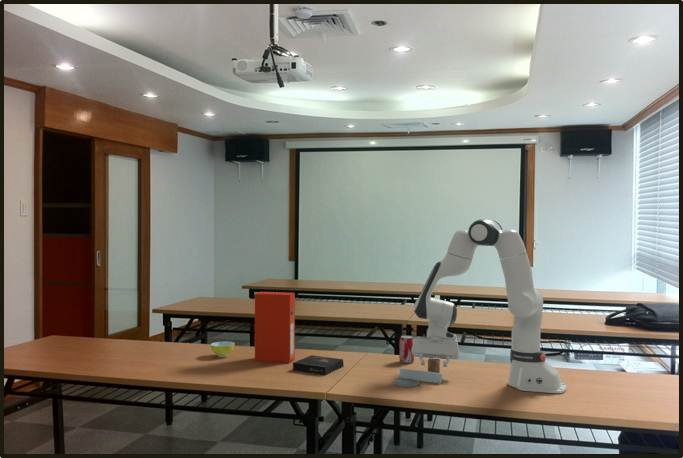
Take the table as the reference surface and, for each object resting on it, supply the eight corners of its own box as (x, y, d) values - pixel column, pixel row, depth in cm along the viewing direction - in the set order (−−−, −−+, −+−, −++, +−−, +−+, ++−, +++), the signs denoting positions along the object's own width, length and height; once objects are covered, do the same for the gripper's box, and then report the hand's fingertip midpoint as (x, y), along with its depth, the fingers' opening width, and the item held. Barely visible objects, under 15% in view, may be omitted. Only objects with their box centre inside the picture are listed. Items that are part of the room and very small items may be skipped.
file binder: (289, 363, 263) (289, 294, 263) (254, 361, 267) (254, 293, 266) (294, 359, 271) (294, 292, 270) (260, 357, 274) (260, 291, 274)
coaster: (423, 381, 233) (423, 380, 233) (414, 388, 223) (414, 387, 223) (398, 378, 238) (398, 377, 238) (388, 384, 228) (388, 384, 228)
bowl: (210, 359, 269) (210, 346, 269) (211, 354, 281) (211, 341, 281) (234, 358, 272) (234, 345, 272) (234, 353, 283) (234, 340, 283)
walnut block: (439, 377, 239) (439, 359, 239) (438, 380, 235) (438, 361, 235) (429, 377, 240) (429, 358, 240) (427, 379, 237) (427, 360, 237)
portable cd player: (343, 367, 257) (343, 358, 257) (325, 376, 242) (325, 367, 242) (312, 363, 265) (312, 354, 265) (292, 371, 250) (292, 362, 250)
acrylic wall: (442, 382, 232) (442, 372, 232) (440, 384, 230) (440, 374, 230) (401, 377, 240) (401, 367, 240) (399, 378, 238) (399, 369, 238)
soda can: (413, 364, 262) (413, 338, 262) (398, 363, 264) (398, 337, 264) (414, 360, 269) (414, 335, 269) (399, 359, 271) (400, 334, 271)
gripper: (412, 332, 248) (408, 359, 239) (459, 335, 242) (457, 363, 233) (413, 340, 252) (410, 367, 243) (460, 343, 247) (458, 371, 237)
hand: (433, 365), depth 238 cm, fingers open, 8 cm apart
